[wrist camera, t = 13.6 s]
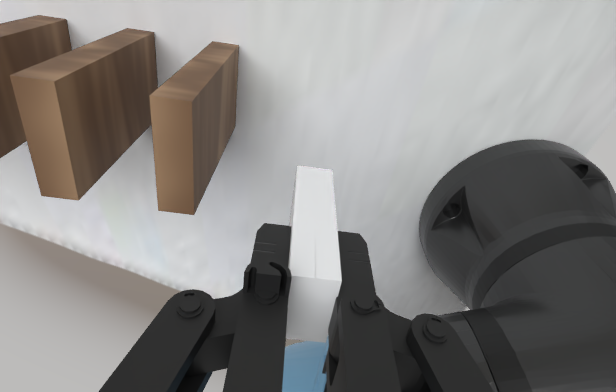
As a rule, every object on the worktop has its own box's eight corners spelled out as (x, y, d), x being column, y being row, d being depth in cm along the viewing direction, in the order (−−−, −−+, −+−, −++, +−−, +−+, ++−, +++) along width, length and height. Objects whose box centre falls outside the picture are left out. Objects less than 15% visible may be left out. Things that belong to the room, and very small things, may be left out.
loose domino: (211, 122, 30) (158, 210, 20) (212, 41, 27) (149, 95, 17) (235, 126, 30) (194, 214, 20) (238, 45, 27) (192, 101, 17)
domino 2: (154, 32, 26) (53, 81, 16) (159, 115, 30) (78, 200, 19) (127, 28, 26) (9, 75, 16) (135, 112, 29) (41, 195, 19)
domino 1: (66, 19, 26) (-92, 61, 16) (81, 104, 29) (-43, 185, 19) (38, 15, 26) (-138, 55, 16) (56, 101, 29) (-81, 181, 19)
